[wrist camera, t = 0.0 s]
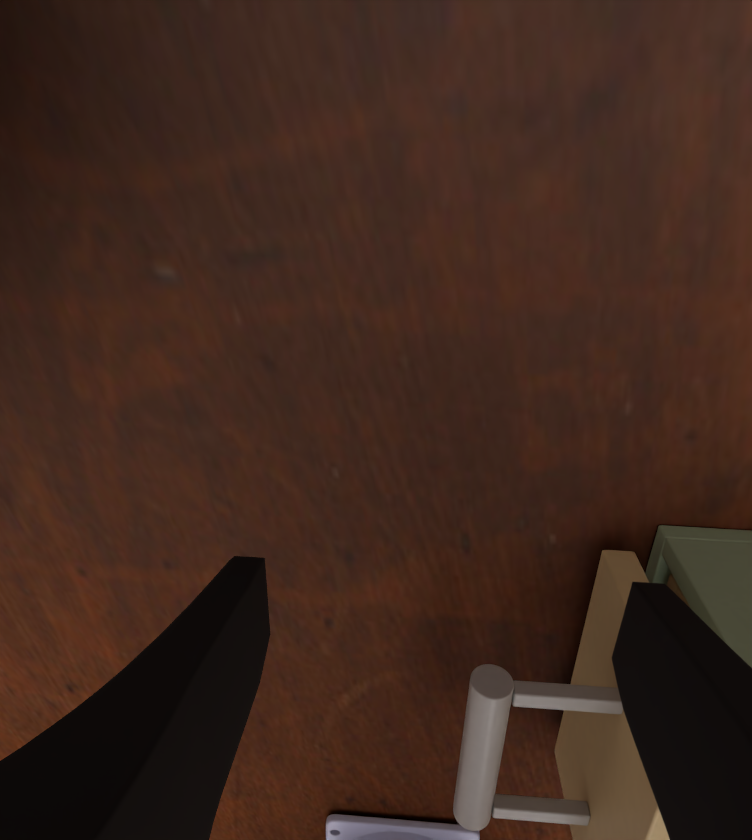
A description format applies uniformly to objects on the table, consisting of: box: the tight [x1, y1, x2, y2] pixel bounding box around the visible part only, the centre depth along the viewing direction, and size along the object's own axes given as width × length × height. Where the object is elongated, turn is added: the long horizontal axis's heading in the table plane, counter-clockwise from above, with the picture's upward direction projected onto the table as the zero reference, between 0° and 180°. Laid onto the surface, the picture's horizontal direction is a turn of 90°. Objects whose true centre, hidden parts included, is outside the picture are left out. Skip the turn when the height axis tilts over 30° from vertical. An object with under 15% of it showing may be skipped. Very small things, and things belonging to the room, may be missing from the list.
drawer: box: [453, 550, 690, 840], centre depth 21 cm, size 18×11×8 cm, turn 89°
